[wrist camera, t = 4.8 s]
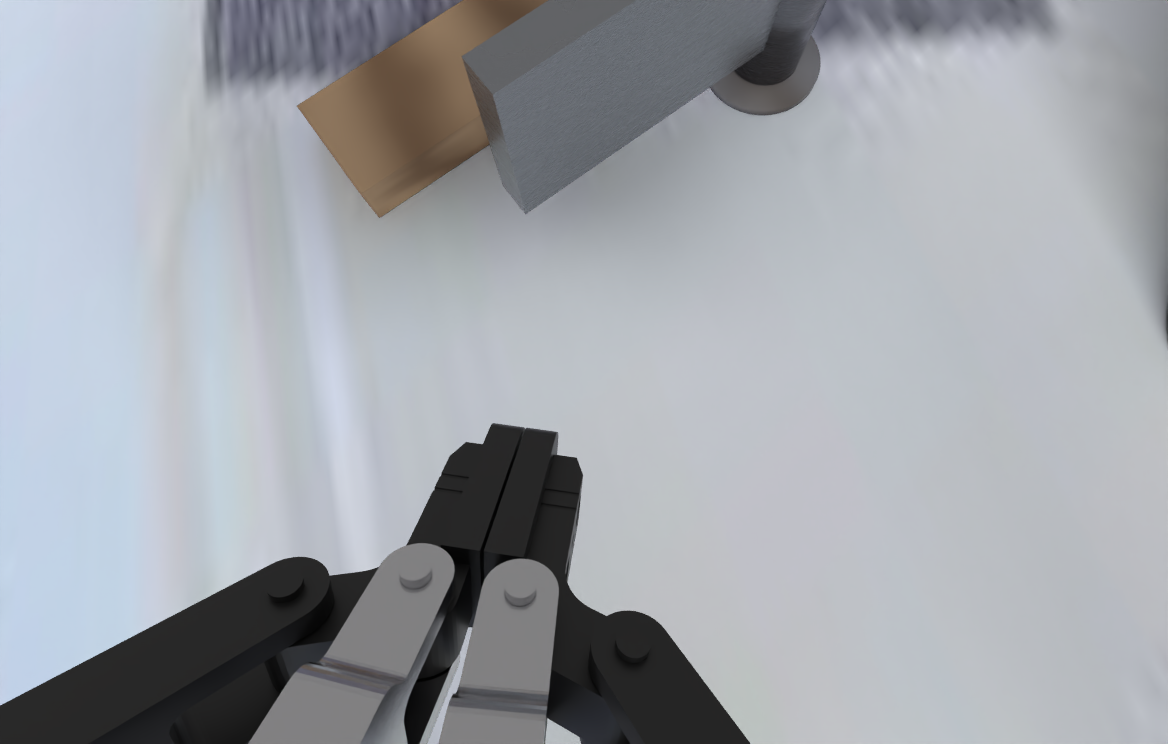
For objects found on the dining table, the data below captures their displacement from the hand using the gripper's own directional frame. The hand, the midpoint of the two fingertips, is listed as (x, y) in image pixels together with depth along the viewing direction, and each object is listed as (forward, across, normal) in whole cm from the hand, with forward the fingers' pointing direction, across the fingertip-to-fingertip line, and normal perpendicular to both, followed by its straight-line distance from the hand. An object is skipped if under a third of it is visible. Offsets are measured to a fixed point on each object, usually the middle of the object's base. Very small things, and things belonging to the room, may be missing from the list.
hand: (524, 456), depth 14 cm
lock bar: (+22, -2, -3) cm, 22 cm away
